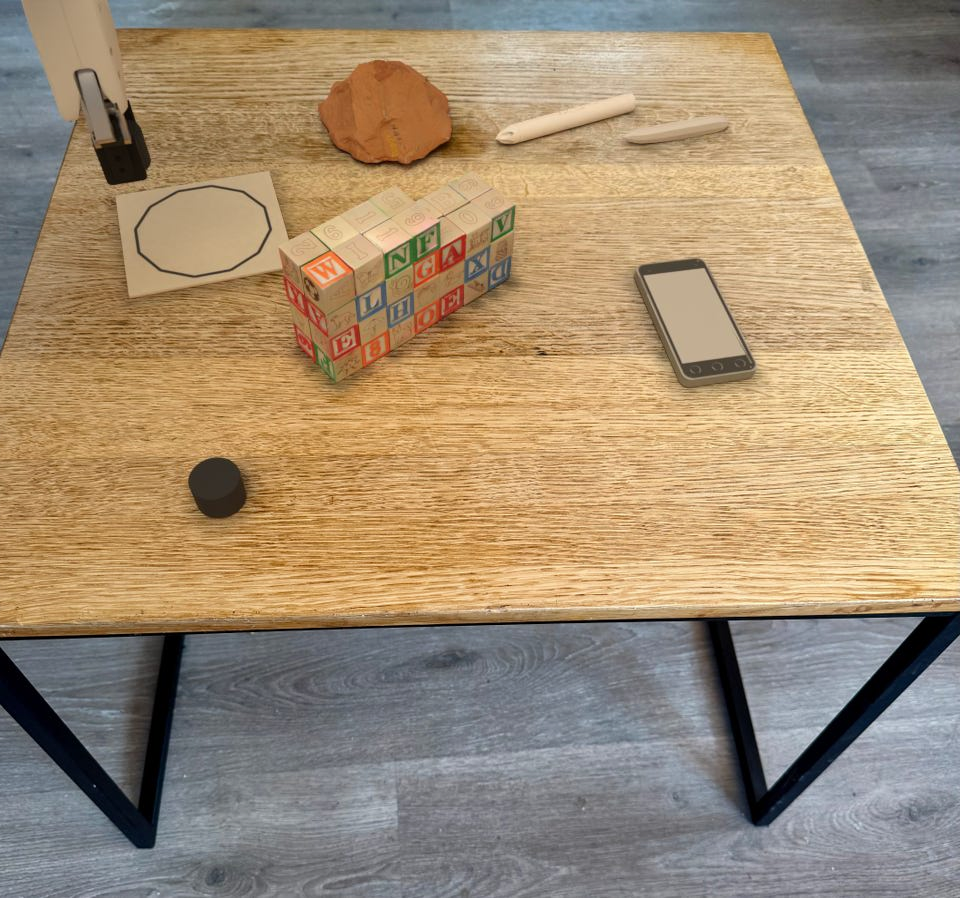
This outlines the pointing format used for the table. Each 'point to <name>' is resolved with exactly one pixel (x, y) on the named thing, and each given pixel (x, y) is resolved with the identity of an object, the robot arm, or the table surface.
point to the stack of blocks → (394, 269)
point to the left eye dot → (137, 140)
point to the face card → (200, 233)
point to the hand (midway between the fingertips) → (125, 160)
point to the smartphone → (694, 322)
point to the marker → (567, 119)
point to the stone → (386, 113)
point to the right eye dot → (217, 487)
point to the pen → (678, 130)
